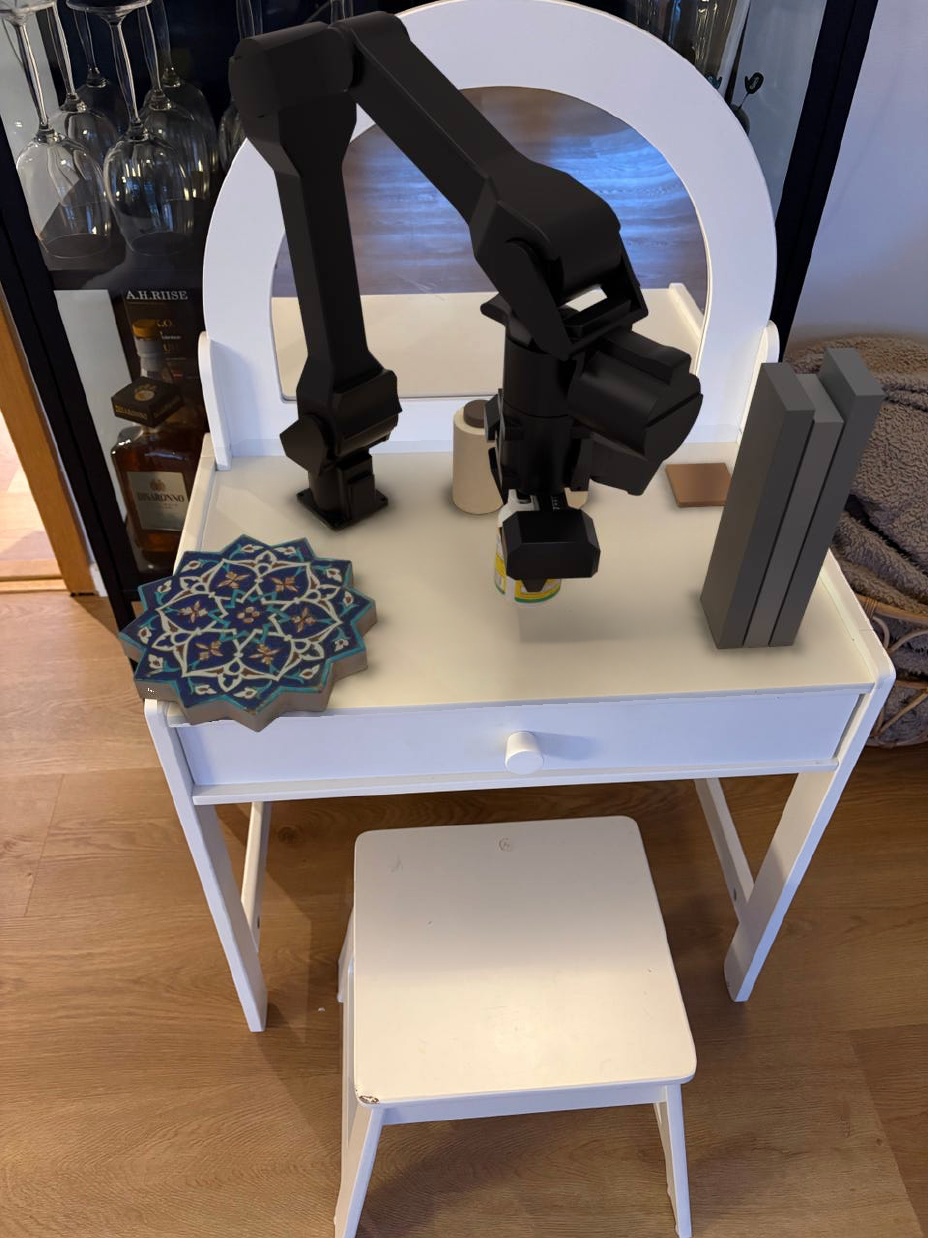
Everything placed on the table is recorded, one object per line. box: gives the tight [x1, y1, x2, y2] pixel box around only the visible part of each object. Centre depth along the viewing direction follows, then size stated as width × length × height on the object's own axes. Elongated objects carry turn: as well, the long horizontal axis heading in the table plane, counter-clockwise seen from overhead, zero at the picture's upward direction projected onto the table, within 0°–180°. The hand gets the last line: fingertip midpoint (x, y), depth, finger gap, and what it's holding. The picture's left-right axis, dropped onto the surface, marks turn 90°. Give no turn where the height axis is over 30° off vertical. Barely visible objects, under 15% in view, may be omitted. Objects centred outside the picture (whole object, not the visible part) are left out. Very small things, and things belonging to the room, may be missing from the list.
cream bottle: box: [452, 398, 504, 515], centre depth 91 cm, size 5×5×10 cm
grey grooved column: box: [699, 347, 886, 649], centre depth 75 cm, size 6×6×24 cm
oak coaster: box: [665, 462, 732, 508], centre depth 96 cm, size 6×6×1 cm
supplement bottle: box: [493, 490, 563, 608], centre depth 75 cm, size 5×5×10 cm
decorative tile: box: [117, 533, 378, 733], centre depth 80 cm, size 20×20×2 cm
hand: (529, 566), depth 77 cm, fingers closed on supplement bottle, 5 cm apart
